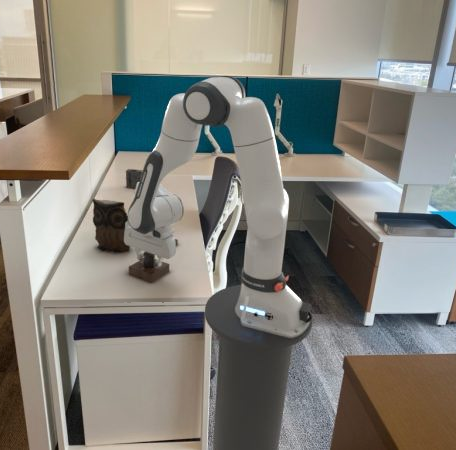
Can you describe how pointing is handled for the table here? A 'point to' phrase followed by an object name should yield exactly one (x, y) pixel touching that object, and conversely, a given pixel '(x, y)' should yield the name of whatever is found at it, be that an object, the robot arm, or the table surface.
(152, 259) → the rod knob
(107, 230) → the owl
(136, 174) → the camera
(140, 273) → the knob panel
